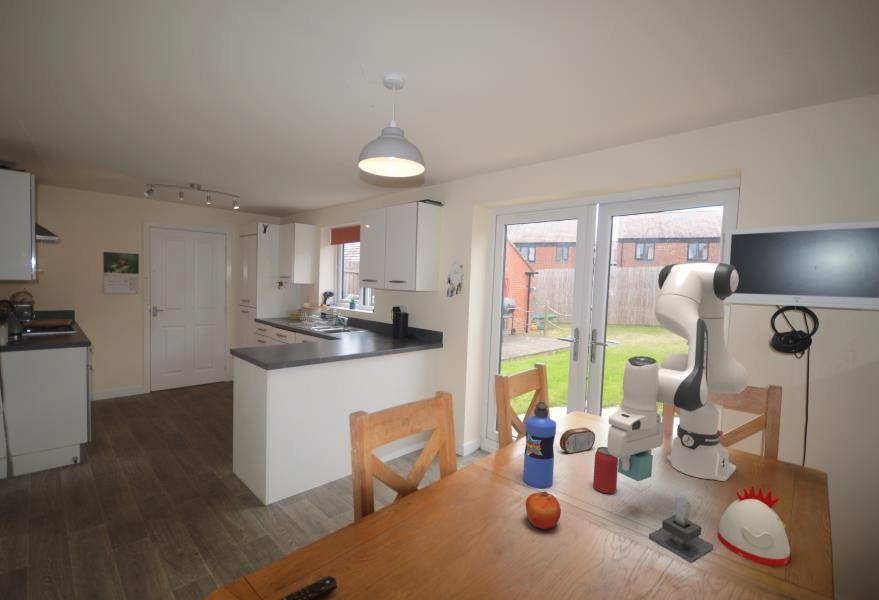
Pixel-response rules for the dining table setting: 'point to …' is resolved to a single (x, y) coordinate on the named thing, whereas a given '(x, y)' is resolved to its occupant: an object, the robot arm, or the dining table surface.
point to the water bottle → (539, 448)
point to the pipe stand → (677, 545)
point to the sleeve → (638, 466)
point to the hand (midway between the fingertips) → (635, 466)
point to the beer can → (605, 471)
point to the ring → (681, 529)
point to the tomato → (543, 510)
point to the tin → (577, 440)
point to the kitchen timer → (755, 529)
